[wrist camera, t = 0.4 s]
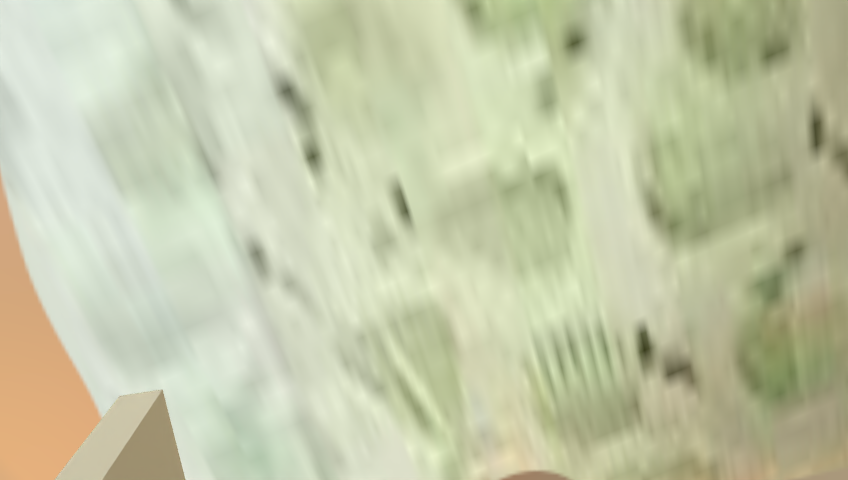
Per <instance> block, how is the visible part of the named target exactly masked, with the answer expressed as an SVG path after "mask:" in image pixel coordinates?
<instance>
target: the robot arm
mask: <svg viewBox="0 0 848 480" xmlns="http://www.w3.org/2000/svg"><path fill="white" fill-rule="evenodd" d="M55 480H185V476H184V472H183V469H182V465H181V461H180V457H179V453H178V449H177V445H176V441H175V437H174V433H173V429H172V425H171V421H170V417H169V413H168V409H167V406H166V402H165V398H164V394H163V390H156V391H150V392H143V393H136V394H130V395H123V396H119V397H118V399H117V400H116V401H115V403H114V404H113V405H112V406H111V408H110V409H109V410H108V412H107V413H106V414H105V416H104V417H103V418H102V419H101V421H100V422H99V423H98V425H97V426H96V427H95V429H94V430H93V431H92V432H91V434H90V435H89V436H88V437H87V439H86V440H85V441H84V443H83V444H82V445H81V446H80V448H79V449H78V450H77V452H76V453H75V454H74V455H73V457H72V458H71V459H70V461H69V462H68V463H67V465H66V466H65V467H64V469H63V470H62V471H61V472H60V474H59V475H58V476H57V477H56V479H55Z"/></svg>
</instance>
